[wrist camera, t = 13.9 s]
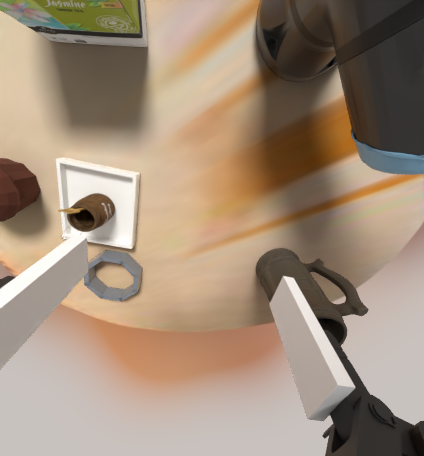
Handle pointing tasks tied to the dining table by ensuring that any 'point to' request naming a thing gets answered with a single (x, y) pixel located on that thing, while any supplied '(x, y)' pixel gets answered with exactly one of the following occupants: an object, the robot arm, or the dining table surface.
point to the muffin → (16, 188)
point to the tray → (104, 184)
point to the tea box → (83, 20)
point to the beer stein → (311, 288)
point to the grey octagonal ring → (110, 292)
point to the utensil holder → (89, 213)
